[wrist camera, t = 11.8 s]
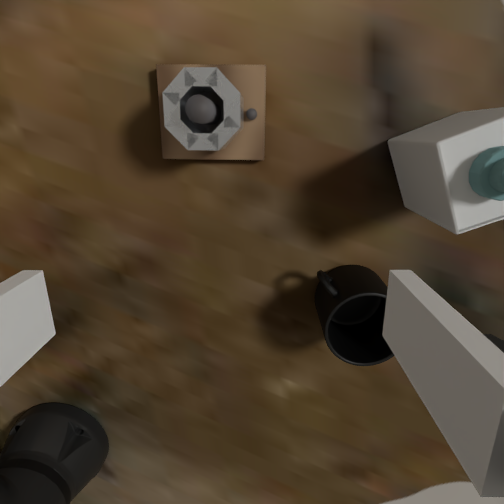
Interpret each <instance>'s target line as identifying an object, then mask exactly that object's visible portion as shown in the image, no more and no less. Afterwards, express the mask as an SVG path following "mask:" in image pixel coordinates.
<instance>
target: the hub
mask: <svg viewBox="0 0 504 504" xmlns="http://www.w3.org/2000/svg"><path fill="white" fill-rule="evenodd" d="M201 92H216V93H217V94H218V95H219V96H220V97H221V98H222V100H223V101H224V120H223V122H222V123H221V124H220V125H219V126H218V127H217V128H216V129H215V130H214V131H213V132H212V133H202V132H201V131H200V130H199V129H198V128H197V127H196V126H195V125H194V124H193V123H192V122H191V120H190V119H189V118H188V116H187V114H186V110H185V106H186V103H187V101H188V99H189V98H190V97H191V96H193V95H199V94H200V93H201ZM162 94H163V109H164V125H165V128H166V129H167V130H168V131H169V132H170V133H171V134H172V135H173V136H174V137H175V138H176V139H177V140H178V141H179V142H180V143H181V144H182V145H183V146H184V147H185V148H186V149H187V150H214V151H219V150H221V149H224V148H225V147H226V146H227V145H228V144H229V143H230V142H231V141H232V140H233V139H234V138H235V137H236V136H237V135H238V134H239V132H240V131H241V130H242V129H243V121H244V98H243V96H242V95H241V93H240V92H239V91H238V90H237V89H236V88H235V87H234V86H233V84H232V83H231V82H230V81H229V80H228V79H227V78H226V77H225V76H224V75H223V74H222V72H221V71H220V70H219V69H218V68H217V67H184V68H183V69H182V70H181V71H180V72H179V74H178V75H177V76H176V77H175V78H174V80H173V81H172V82H171V83H170V84H169V85H168V87H167V88H166V89H165V90H164V91H163V93H162Z"/></svg>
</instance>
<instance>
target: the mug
mask: <svg viewBox="0 0 504 504" xmlns="http://www.w3.org/2000/svg"><path fill="white" fill-rule="evenodd" d="M317 277H318V279H319V280H320V282H319V284H318V286H317V289H316V292H315V305H316V309H317V312H318V316H319V319H320V323H321V326H322V330H323V333H324V337H325V340H326V343H327V346H328V347H329V349H330V350H331V352H332V353H333V354H334V355H335V356H336V357H338V358H339V359H341V360H342V361H344V362H346V363H349V364H352V365H357V366H371V365H376V364H379V363H382V362H384V361H387V360H388V359H390V358H392V357H393V356H394V354H393V352H392V350H391V349H390V347H389V346H388V344H387V342H386V341H385V339H384V337H383V336H382V333H383V324H384V316H385V307H386V298H387V290H388V287H387V286H386V285H385V284H384V282H383V281H382V280H381V279H380V277H379V276H378V275H377V274H376V273H375V272H374V271H372V270H370V269H369V268H366V267H363V266H360V265H346V266H341V267H338V268H336V269H334V270H332V271H330V272H329V273H328V274H326V273H325V272H323V271H321V270H320V271H318V272H317Z"/></svg>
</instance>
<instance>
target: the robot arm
mask: <svg viewBox="0 0 504 504" xmlns="http://www.w3.org/2000/svg"><path fill="white" fill-rule="evenodd" d="M55 334H56V333H55V328H54V323H53V318H52V313H51V308H50V303H49V299H48V294H47V289H46V284H45V279H44V274H43V270H23V271H21V272H19V273H18V274H16V275H14V276H12V277H10V278H9V279H7V280H5V281H3V282H1V283H0V387H1V386H2V385H3V384H4V383H5V382H6V381H7V380H8V379H9V378H10V377H11V376H12V375H13V374H14V373H15V372H16V371H17V370H19V369H20V368H21V367H22V366H23V365H24V364H25V363H26V362H27V361H28V360H29V359H30V358H31V357H32V356H33V355H34V354H35V353H36V352H37V351H38V350H39V349H41V348H42V347H43V346H44V345H45V344H46V343H47V342H48V341H49V340H50V339H51V338H52V337H53V336H54V335H55ZM382 336H383V337H384V339H385V341H386V342H387V344H388V346H389V347H390V349H391V350H392V352H393V354H394V355H395V357H396V359H397V360H398V362H399V364H400V365H401V367H402V368H403V370H404V372H405V373H406V375H407V377H408V378H409V380H410V382H411V383H412V385H413V387H414V388H415V390H416V391H417V393H418V395H419V396H420V398H421V400H422V401H423V403H424V405H425V406H426V408H427V409H428V411H429V413H430V414H431V416H432V418H433V419H434V421H435V423H436V424H437V426H438V428H439V429H440V431H441V432H442V434H443V436H444V437H445V439H446V441H447V442H448V444H449V446H450V447H451V449H452V450H453V452H454V454H455V455H456V457H457V459H458V460H459V462H460V464H461V465H462V467H463V469H464V470H465V472H466V473H467V475H468V477H469V478H470V480H471V482H472V483H473V485H474V486H475V488H476V490H477V491H478V493H479V495H480V496H481V497H504V341H503V340H501V339H499V338H497V337H495V336H493V335H491V334H482V333H481V332H480V331H479V330H477V329H476V328H475V327H474V326H473V325H472V324H471V323H470V322H468V321H467V320H466V319H465V318H464V317H463V316H462V315H461V314H459V313H458V312H457V311H456V310H455V309H454V308H453V307H452V306H450V305H449V304H448V303H447V302H446V301H445V300H444V299H443V298H441V297H440V296H439V295H438V294H437V293H436V292H435V291H434V290H433V289H431V288H430V287H429V286H428V285H427V284H426V283H425V282H424V281H422V280H421V279H420V278H419V277H418V276H417V275H416V274H415V273H413V272H412V271H411V270H390V272H389V281H388V290H387V298H386V307H385V316H384V324H383V333H382ZM108 450H109V443H108V438H107V435H106V433H105V431H104V429H103V428H102V426H101V425H100V424H99V423H98V422H97V421H96V420H95V419H94V418H93V417H92V416H91V415H89V414H88V413H86V412H85V411H83V410H81V409H79V408H77V407H74V406H71V405H67V404H62V403H45V404H40V405H37V406H35V407H32V408H31V409H29V410H28V411H26V412H25V413H24V414H23V415H22V417H21V418H20V419H19V420H18V421H17V422H16V424H15V425H14V426H13V428H12V429H11V431H10V434H9V436H8V438H7V441H6V443H5V446H4V448H3V451H2V453H1V455H0V504H70V502H71V501H72V500H73V499H74V498H75V497H76V495H77V494H78V493H79V492H80V491H81V490H82V489H83V488H84V487H85V486H86V485H87V484H88V483H89V481H90V480H91V479H92V478H94V477H95V476H96V475H97V473H98V472H99V470H100V469H101V467H102V465H103V463H104V461H105V459H106V457H107V454H108Z"/></svg>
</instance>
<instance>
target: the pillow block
mask: <svg viewBox="0 0 504 504" xmlns="http://www.w3.org/2000/svg"><path fill="white" fill-rule="evenodd" d="M184 67H217V68H218V69H219V70H220V71H221V72H222V74H223V75H224V76H225V77H226V78H227V79H228V80H229V81H230V82H231V83H232V84H233V86H234V87H235V88H236V89H237V90H238V91H239V92H240V93H241V95H242V96H243V98H244V121H243V129H242V130H241V131H240V132H239V134H238V135H237V136H236V137H235V138H234V139H233V140H232V141H231V142H230V143H229V144H228V145H227V146H226V147H225V148H224V149H221V150H219V151H214V150H187V149H186V148H185V147H184V146H183V145H182V144H181V143H180V142H179V141H178V140H177V139H176V138H175V137H174V136H173V135H172V134H171V133H170V132H169V131H168V130H167V129H166V128H165V125H164V109H163V94H162V93H163V91H164V90H165V89H166V88H167V87H168V85H169V84H170V83H171V82H172V81H173V80H174V78H175V77H176V76H177V75H178V74H179V72H180V71H181V70H182V69H183V68H184ZM156 68H157V83H158V98H159V113H160V128H161V142H162V157H163V159H215V160H264V147H265V97H266V65H172V64H156ZM185 110H186V114H187V116H188V118H189V119H190V120H191V122H192V123H193V124H194V125H195V126H196V127H197V128H198V129H199V130H200V131H201V132H202V133H212V132H213V131H214V130H215V129H216V128H217V127H218V126H219V125H220V124H221V123H222V122H223V120H224V101H223V100H222V98H221V97H220V96H219V95H218V94H217V93H216V92H201V93H200V94H199V95H193V96H191V97H190V98H189V99H188V101H187V103H186V106H185Z"/></svg>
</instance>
